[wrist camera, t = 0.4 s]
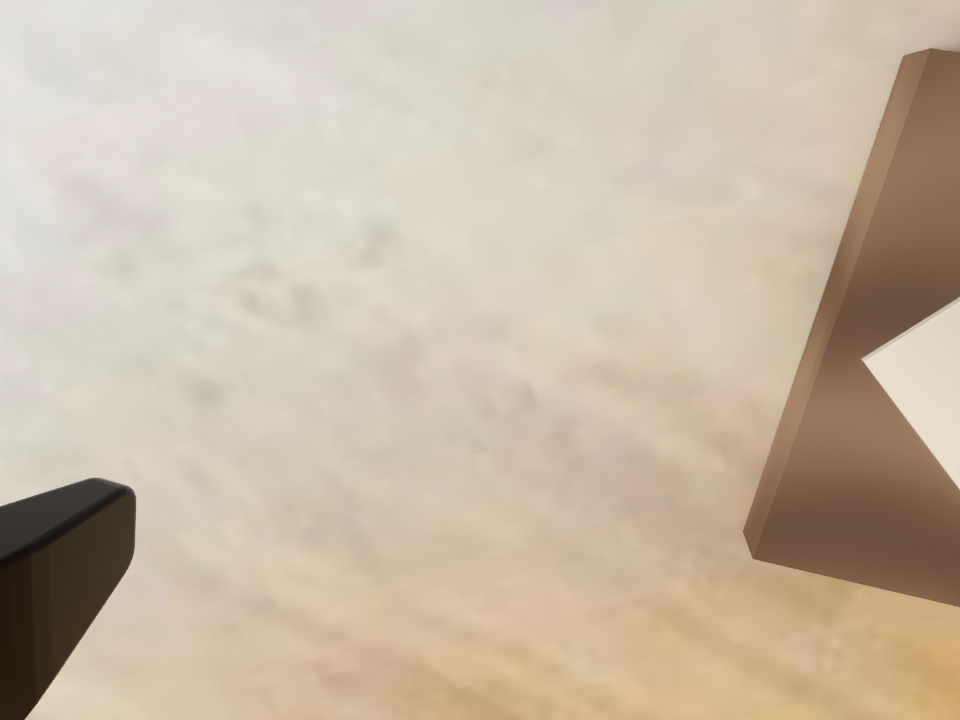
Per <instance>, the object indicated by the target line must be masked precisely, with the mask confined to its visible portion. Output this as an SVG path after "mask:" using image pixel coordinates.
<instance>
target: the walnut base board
mask: <svg viewBox="0 0 960 720" xmlns="http://www.w3.org/2000/svg"><path fill="white" fill-rule="evenodd" d="M743 533H744V536H745V538H746V541H747V544H748V547H749V549H750V552H751V555H752V558H753V559H756V560H760V561H764V562H769V563H773V564H777V565H781V566H786V567H790V568H794V569H799V570H803V571H807V572H812V573H816V574H820V575H825V576H829V577H833V578H837V579H842V580H846V581H850V582H855V583H859V584H863V585H868V586H872V587H876V588H880V589H885V590H889V591H893V592H898V593H902V594H906V595H911V596H915V597H919V598H923V599H928V600H932V601H936V602H941V603H945V604H949V605H954V606H958V607H960V53H958V52H951V51H944V50H938V49H931V48H930V49H927V50H923V51H919V52H916V53H912V54H908V55H905V56H903V59H902V62H901V65H900V68H899V71H898V74H897V77H896V80H895V83H894V86H893V89H892V92H891V95H890V98H889V101H888V104H887V107H886V110H885V113H884V116H883V118H882V121H881V124H880V127H879V130H878V133H877V136H876V139H875V142H874V145H873V148H872V151H871V154H870V157H869V160H868V163H867V166H866V169H865V172H864V175H863V178H862V181H861V184H860V187H859V190H858V193H857V196H856V198H855V201H854V204H853V207H852V210H851V213H850V216H849V219H848V222H847V225H846V228H845V231H844V234H843V237H842V240H841V243H840V246H839V249H838V252H837V255H836V258H835V261H834V264H833V267H832V270H831V273H830V276H829V279H828V281H827V284H826V287H825V290H824V293H823V296H822V299H821V302H820V305H819V308H818V311H817V314H816V317H815V320H814V323H813V326H812V329H811V332H810V335H809V338H808V341H807V344H806V347H805V350H804V353H803V356H802V359H801V362H800V364H799V367H798V370H797V373H796V376H795V379H794V382H793V385H792V388H791V391H790V394H789V397H788V400H787V403H786V406H785V409H784V412H783V415H782V418H781V421H780V424H779V427H778V430H777V433H776V436H775V439H774V442H773V444H772V447H771V450H770V453H769V456H768V459H767V462H766V465H765V468H764V471H763V474H762V477H761V480H760V483H759V486H758V489H757V492H756V495H755V498H754V501H753V504H752V507H751V510H750V513H749V516H748V519H747V522H746V525H745V527H744V530H743Z"/></svg>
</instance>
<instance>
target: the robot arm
mask: <svg viewBox="0 0 960 720" xmlns="http://www.w3.org/2000/svg"><path fill="white" fill-rule="evenodd" d="M135 522H136V496H135V493H134V491H133V489H131V488H130V487H129V486H127V485H123V484H120V483H116V482H113V481H109V480H106V479H102V478H90V479H86V480H83V481H80V482H77V483H74V484H70V485H67V486H64V487H61V488H58V489H54V490H51V491H48V492H45V493H42V494H38V495H35V496H32V497H29V498H26V499H22V500H19V501H16V502H13V503H10V504H6V505H3V506H0V720H25V718H26V717H27V716H28V714H29V713H30V712H31V711H32V709H33V708H34V707H35V706H36V704H37V703H38V702H39V700H40V699H41V697H42V696H43V694H44V693H45V692H46V690H47V689H48V687H49V686H50V685H51V683H52V682H53V680H54V679H55V677H56V676H57V674H58V673H59V671H60V670H61V668H62V667H63V665H64V664H65V662H66V661H67V659H68V658H69V656H70V655H71V653H72V652H73V650H74V649H75V647H76V646H77V644H78V643H79V641H80V640H81V639H82V637H83V636H84V634H85V633H86V631H87V630H88V628H89V627H90V625H91V624H92V622H93V621H94V619H95V618H96V616H97V615H98V613H99V612H100V610H101V609H102V607H103V606H104V604H105V603H106V601H107V600H108V598H109V597H110V595H111V594H112V592H113V591H114V589H115V588H116V586H117V585H118V583H119V582H120V580H121V579H122V577H123V576H124V574H125V573H126V571H127V569H128V567H129V565H130V563H131V560H132V558H133V554H134V548H135Z"/></svg>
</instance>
